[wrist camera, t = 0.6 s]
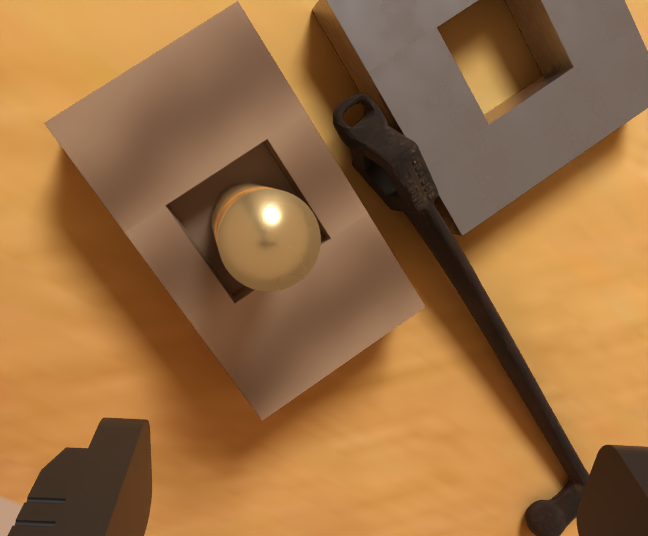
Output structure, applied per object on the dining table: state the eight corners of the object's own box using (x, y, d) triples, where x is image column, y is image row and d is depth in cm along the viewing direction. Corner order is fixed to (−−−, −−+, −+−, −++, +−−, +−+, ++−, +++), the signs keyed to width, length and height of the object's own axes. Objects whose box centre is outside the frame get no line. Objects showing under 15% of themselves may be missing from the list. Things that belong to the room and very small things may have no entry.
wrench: (513, 518, 42) (275, 140, 33) (568, 471, 43) (351, 89, 34) (562, 566, 37) (300, 138, 28) (625, 512, 38) (388, 78, 29)
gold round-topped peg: (196, 209, 31) (196, 226, 21) (256, 169, 31) (284, 168, 21) (237, 268, 32) (255, 311, 22) (295, 228, 32) (339, 254, 22)
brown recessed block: (65, 129, 31) (43, 123, 27) (231, 24, 32) (237, 1, 28) (253, 389, 35) (262, 420, 31) (397, 290, 36) (425, 306, 32)
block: (311, 10, 33) (323, -6, 30) (524, -126, 34) (554, -154, 31) (441, 230, 36) (462, 235, 33) (630, 100, 37) (667, 94, 34)
